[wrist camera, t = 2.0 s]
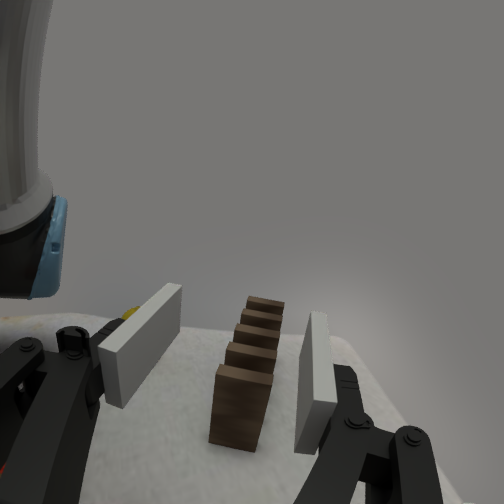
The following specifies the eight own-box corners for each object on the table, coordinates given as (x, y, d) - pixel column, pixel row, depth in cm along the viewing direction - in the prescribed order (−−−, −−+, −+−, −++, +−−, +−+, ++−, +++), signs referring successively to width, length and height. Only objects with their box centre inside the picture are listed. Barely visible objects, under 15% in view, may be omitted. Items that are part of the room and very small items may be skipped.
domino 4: (217, 417, 33) (226, 349, 30) (220, 408, 35) (229, 341, 32) (260, 426, 32) (276, 359, 30) (261, 417, 34) (277, 350, 31)
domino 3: (225, 395, 37) (234, 329, 34) (228, 388, 39) (237, 323, 36) (264, 403, 36) (279, 338, 34) (265, 396, 38) (280, 331, 35)
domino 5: (208, 442, 29) (215, 373, 26) (212, 432, 31) (219, 363, 28) (254, 452, 28) (272, 385, 26) (257, 442, 30) (273, 374, 27)
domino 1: (237, 360, 45) (247, 300, 42) (239, 354, 47) (248, 295, 44) (271, 367, 45) (283, 307, 42) (272, 361, 46) (284, 302, 43)
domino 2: (232, 377, 41) (241, 313, 38) (234, 370, 43) (243, 308, 40) (268, 384, 41) (281, 321, 38) (269, 377, 42) (282, 315, 39)
